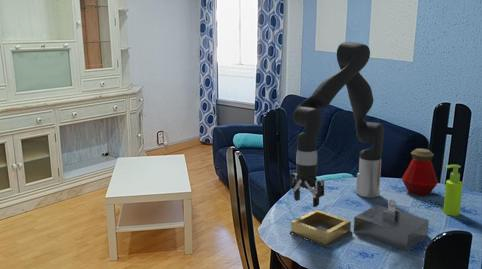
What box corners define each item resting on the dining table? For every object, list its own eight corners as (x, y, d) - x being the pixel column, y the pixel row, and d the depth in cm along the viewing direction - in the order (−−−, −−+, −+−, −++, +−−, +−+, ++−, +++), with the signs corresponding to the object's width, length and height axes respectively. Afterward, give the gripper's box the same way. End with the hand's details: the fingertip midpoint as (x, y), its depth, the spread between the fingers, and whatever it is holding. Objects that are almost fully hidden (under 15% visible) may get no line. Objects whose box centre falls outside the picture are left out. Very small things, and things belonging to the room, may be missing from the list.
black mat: (289, 233, 152) (289, 231, 152) (316, 220, 163) (316, 218, 163) (326, 248, 141) (326, 246, 141) (352, 233, 151) (352, 231, 151)
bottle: (394, 191, 192) (397, 149, 188) (411, 185, 200) (414, 144, 196) (426, 201, 180) (430, 156, 176) (443, 194, 188) (447, 151, 184)
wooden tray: (291, 231, 152) (291, 221, 151) (316, 219, 162) (316, 209, 162) (325, 245, 141) (326, 234, 141) (350, 231, 152) (350, 221, 151)
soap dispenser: (437, 210, 170) (442, 163, 166) (454, 209, 170) (458, 162, 166) (446, 216, 164) (450, 167, 160) (462, 215, 165) (467, 167, 160)
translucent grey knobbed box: (353, 232, 152) (355, 198, 149) (376, 219, 163) (377, 187, 160) (406, 251, 138) (409, 214, 135) (427, 235, 149) (430, 201, 146)
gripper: (285, 160, 154) (285, 201, 158) (316, 167, 144) (315, 211, 147) (298, 155, 159) (297, 195, 162) (329, 163, 149) (328, 205, 152)
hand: (306, 203), depth 155 cm, fingers open, 8 cm apart
